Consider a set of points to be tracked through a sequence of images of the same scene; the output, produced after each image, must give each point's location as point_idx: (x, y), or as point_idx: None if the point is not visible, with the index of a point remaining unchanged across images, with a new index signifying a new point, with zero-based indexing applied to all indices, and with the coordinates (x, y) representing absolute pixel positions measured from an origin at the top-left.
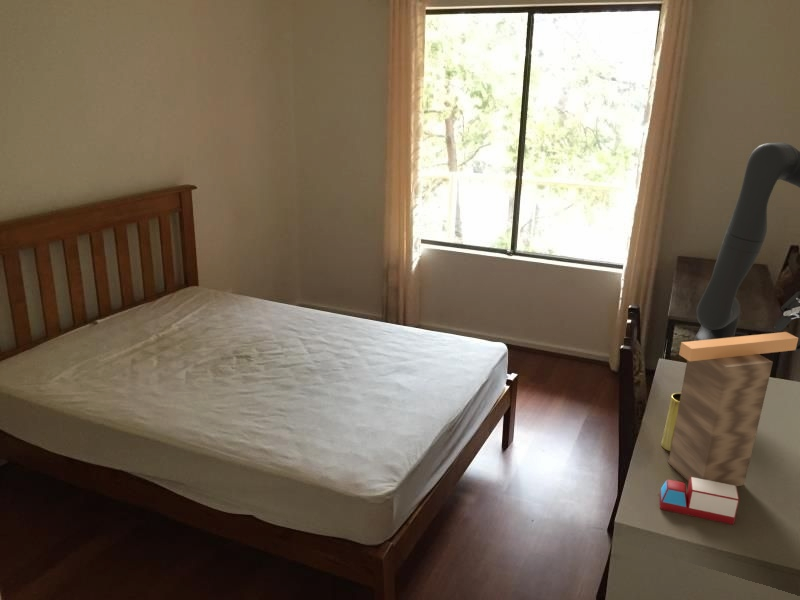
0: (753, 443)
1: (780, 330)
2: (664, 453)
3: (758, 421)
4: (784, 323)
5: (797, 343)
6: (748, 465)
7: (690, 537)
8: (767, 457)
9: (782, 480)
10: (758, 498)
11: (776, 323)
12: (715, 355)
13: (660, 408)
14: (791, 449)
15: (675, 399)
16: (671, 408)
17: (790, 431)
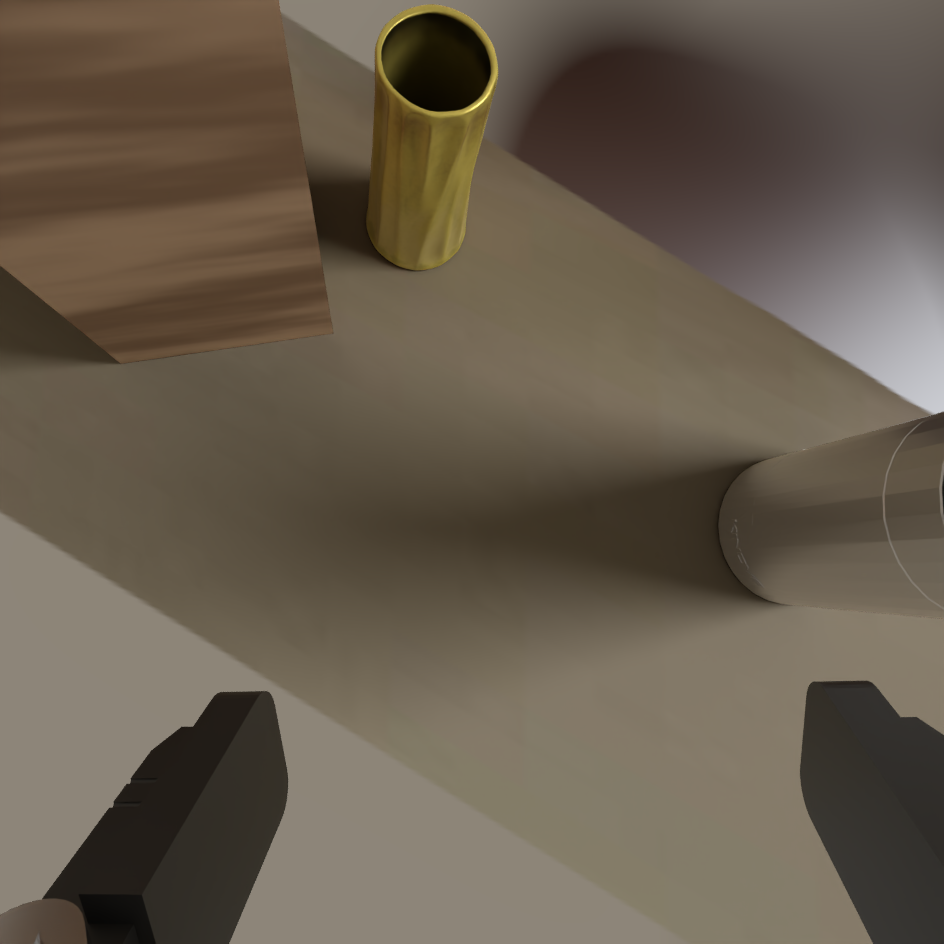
0: (20, 280)
1: (806, 786)
2: (368, 166)
3: None
4: (878, 867)
5: (226, 750)
6: (82, 330)
7: None
8: (315, 582)
9: (138, 546)
10: (25, 370)
11: (928, 741)
12: None
13: (718, 319)
14: (373, 735)
15: (417, 11)
16: (424, 53)
17: (525, 825)
